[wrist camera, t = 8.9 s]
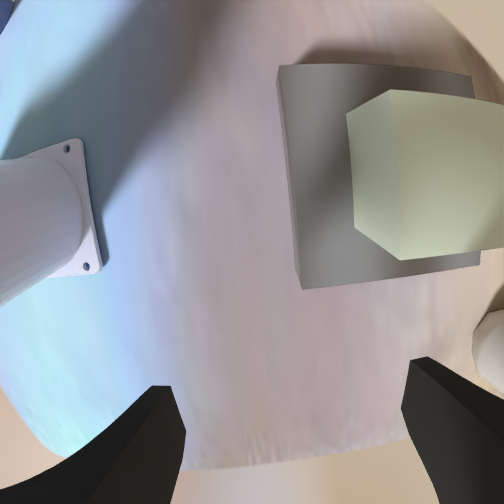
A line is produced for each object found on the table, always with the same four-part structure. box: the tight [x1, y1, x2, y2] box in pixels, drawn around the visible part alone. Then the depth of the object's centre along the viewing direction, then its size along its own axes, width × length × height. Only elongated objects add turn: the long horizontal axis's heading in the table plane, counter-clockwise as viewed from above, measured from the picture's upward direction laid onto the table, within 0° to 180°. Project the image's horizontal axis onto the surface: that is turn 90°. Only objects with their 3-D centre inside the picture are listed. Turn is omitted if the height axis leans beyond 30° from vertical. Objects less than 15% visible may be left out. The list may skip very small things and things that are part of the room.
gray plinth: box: [276, 64, 481, 290], centre depth 14 cm, size 10×10×3 cm
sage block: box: [346, 89, 504, 260], centre depth 10 cm, size 5×5×5 cm
